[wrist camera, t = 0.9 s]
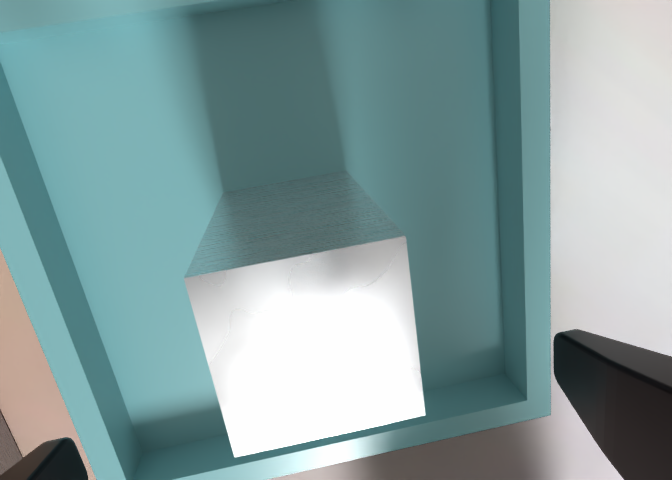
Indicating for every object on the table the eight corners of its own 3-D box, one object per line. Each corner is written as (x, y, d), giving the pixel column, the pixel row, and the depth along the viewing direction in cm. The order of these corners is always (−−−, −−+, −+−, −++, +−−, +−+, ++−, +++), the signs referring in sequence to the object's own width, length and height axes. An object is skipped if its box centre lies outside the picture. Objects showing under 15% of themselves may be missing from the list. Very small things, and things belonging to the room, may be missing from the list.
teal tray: (520, 379, 22) (550, 415, 19) (129, 465, 20) (111, 514, 18) (508, -62, 16) (549, -88, 14) (-41, 17, 15) (-102, 3, 12)
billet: (362, 281, 18) (425, 415, 11) (249, 303, 18) (234, 457, 11) (346, 170, 17) (405, 235, 9) (223, 192, 17) (183, 278, 9)
